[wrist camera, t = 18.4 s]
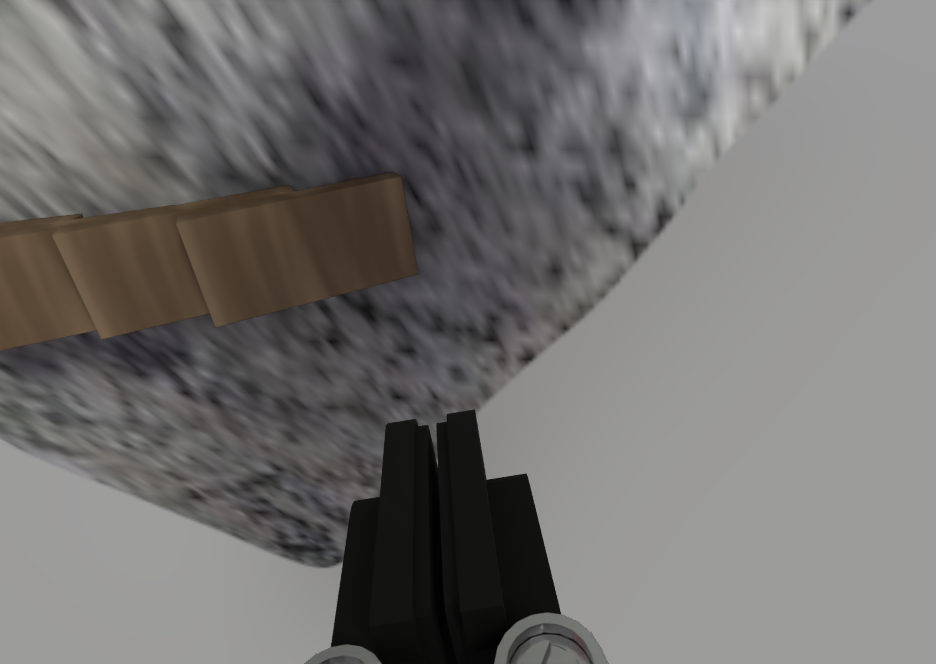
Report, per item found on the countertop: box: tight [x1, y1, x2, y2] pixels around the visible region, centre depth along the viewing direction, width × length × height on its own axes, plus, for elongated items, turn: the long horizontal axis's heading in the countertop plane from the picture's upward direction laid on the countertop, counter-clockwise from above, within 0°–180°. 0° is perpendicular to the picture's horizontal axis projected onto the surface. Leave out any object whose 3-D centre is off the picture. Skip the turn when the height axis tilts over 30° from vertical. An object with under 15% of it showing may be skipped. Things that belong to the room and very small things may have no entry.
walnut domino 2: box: [52, 185, 294, 339], centre depth 26 cm, size 2×5×10 cm
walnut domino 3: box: [176, 172, 418, 327], centre depth 26 cm, size 2×5×10 cm
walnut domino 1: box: [0, 205, 175, 350], centre depth 26 cm, size 2×5×10 cm
